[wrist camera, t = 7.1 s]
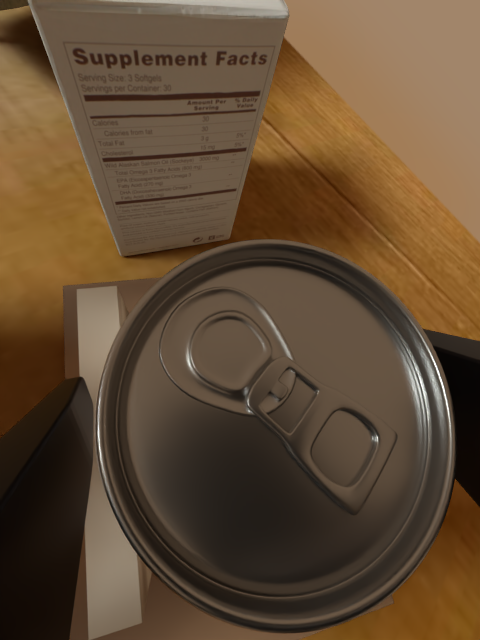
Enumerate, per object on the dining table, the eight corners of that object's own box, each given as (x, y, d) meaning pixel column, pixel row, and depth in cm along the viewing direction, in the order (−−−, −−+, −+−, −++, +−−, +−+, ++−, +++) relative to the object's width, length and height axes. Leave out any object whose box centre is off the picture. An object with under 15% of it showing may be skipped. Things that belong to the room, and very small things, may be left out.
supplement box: (98, 166, 21) (-8, -170, 9) (204, 157, 23) (231, -129, 11) (117, 261, 19) (15, -8, 7) (232, 243, 21) (299, 6, 9)
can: (207, 331, 17) (256, 159, 6) (297, 408, 17) (531, 374, 6) (119, 427, 15) (-64, 433, 4) (221, 519, 14) (361, 841, 3)
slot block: (378, 590, 16) (457, 655, 11) (81, 699, 13) (27, 852, 8) (295, 273, 21) (327, 232, 16) (70, 294, 18) (33, 250, 13)
